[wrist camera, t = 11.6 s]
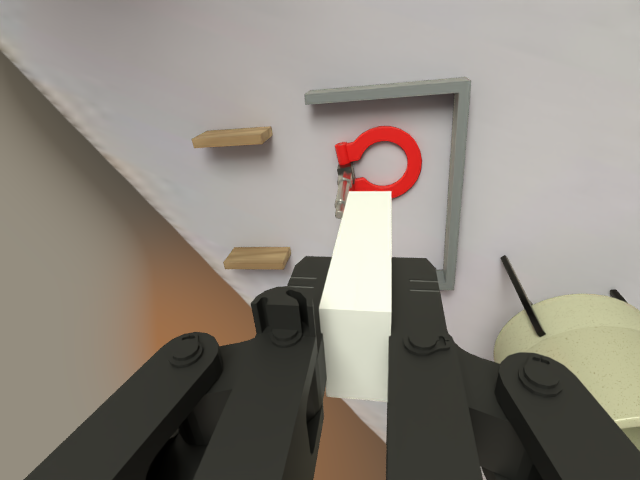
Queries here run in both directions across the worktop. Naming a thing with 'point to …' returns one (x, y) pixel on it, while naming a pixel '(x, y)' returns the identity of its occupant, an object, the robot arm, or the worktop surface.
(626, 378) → the planter
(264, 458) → the robot arm
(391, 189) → the tow hook
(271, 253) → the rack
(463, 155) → the grey piece
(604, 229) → the worktop surface
